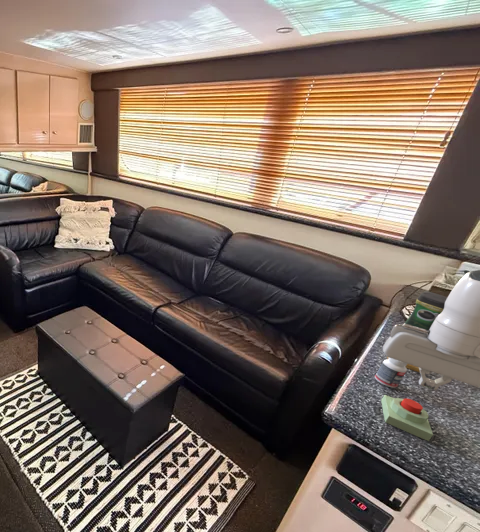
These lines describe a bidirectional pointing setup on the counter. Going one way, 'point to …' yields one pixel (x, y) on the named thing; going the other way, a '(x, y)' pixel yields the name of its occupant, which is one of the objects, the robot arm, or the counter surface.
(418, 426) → the button box
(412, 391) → the counter surface
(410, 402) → the button
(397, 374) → the pill bottle
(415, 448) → the counter surface
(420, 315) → the coffee jar
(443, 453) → the counter surface
